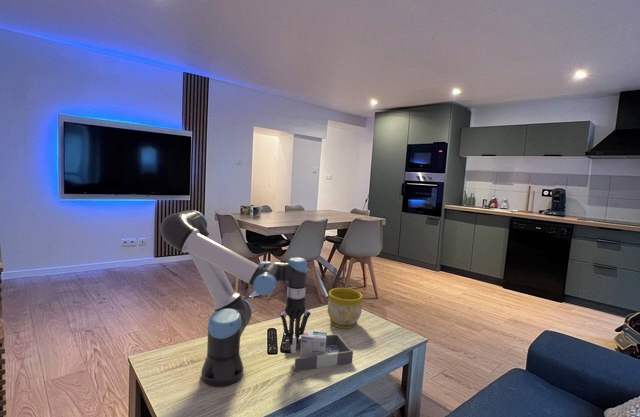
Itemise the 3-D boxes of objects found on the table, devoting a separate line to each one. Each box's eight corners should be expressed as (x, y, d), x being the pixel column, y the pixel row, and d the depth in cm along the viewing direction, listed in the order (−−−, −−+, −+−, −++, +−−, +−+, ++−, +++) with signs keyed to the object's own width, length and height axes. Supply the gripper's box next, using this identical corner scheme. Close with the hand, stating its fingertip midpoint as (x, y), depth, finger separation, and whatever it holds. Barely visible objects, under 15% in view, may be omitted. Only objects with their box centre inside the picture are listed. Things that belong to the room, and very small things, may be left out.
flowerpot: (343, 335, 163) (346, 303, 161) (319, 321, 176) (321, 291, 174) (367, 325, 175) (370, 295, 173) (342, 313, 188) (345, 285, 186)
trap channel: (295, 371, 130) (295, 359, 130) (284, 350, 144) (285, 340, 144) (352, 362, 139) (353, 351, 139) (336, 344, 154) (337, 333, 153)
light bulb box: (325, 354, 144) (327, 330, 143) (324, 363, 137) (326, 338, 136) (301, 351, 145) (302, 328, 144) (299, 360, 138) (300, 335, 137)
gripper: (282, 300, 129) (279, 358, 131) (314, 298, 133) (310, 353, 136) (278, 293, 136) (275, 348, 138) (308, 291, 140) (305, 344, 143)
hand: (293, 351), depth 137 cm, fingers closed
